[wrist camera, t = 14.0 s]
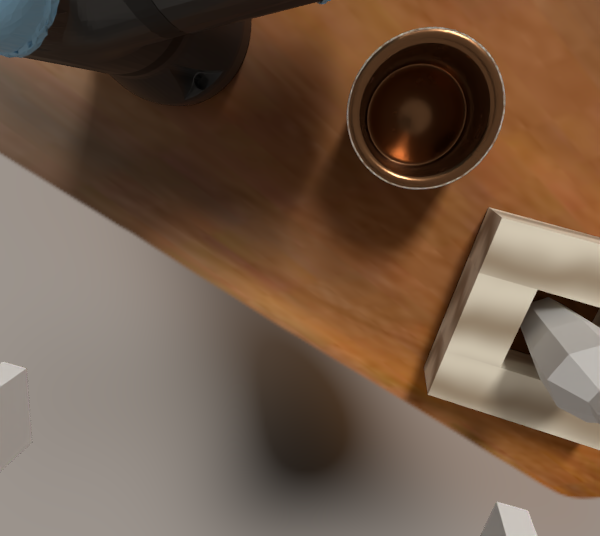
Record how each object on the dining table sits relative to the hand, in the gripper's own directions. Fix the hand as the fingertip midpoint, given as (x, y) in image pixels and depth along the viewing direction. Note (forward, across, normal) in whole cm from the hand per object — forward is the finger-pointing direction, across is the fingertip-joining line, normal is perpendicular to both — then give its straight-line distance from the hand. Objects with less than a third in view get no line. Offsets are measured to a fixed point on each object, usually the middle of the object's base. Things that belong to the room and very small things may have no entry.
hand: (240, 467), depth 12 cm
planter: (+34, +4, +10) cm, 35 cm away
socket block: (+33, +21, -6) cm, 40 cm away
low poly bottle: (+33, +21, -6) cm, 40 cm away
